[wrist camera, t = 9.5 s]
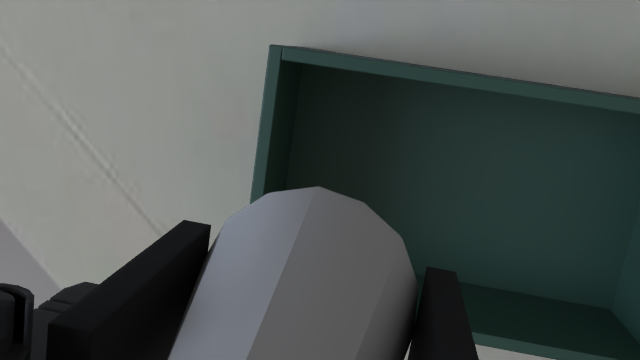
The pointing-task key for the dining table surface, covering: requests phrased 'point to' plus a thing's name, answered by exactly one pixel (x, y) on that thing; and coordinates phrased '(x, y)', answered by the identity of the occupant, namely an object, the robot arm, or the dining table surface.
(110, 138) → the dining table surface
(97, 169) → the dining table surface
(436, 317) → the robot arm
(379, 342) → the salt shaker
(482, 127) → the tote
